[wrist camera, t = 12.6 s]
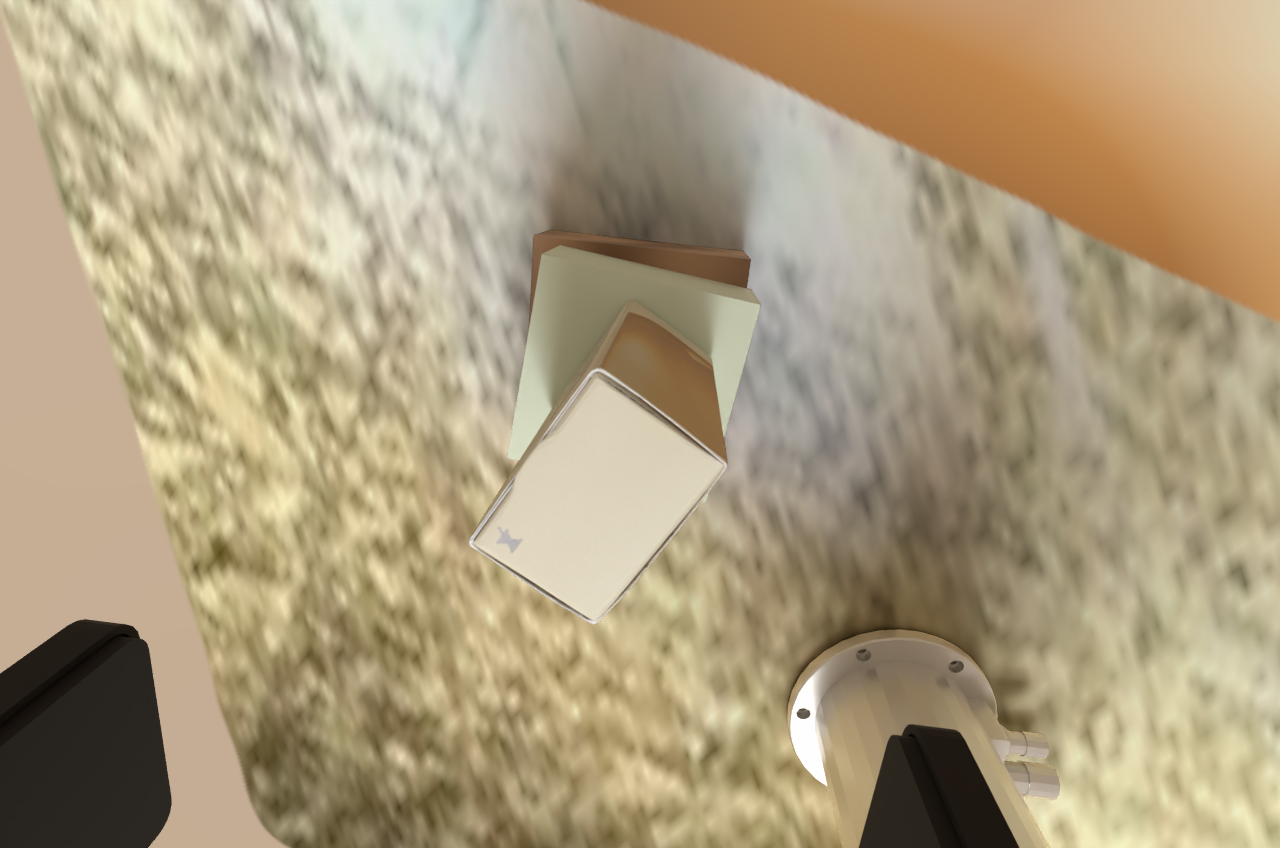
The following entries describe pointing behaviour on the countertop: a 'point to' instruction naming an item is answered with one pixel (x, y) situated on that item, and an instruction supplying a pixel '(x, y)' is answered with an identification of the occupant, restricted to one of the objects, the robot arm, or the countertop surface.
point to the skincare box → (610, 468)
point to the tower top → (590, 301)
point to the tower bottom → (649, 256)
